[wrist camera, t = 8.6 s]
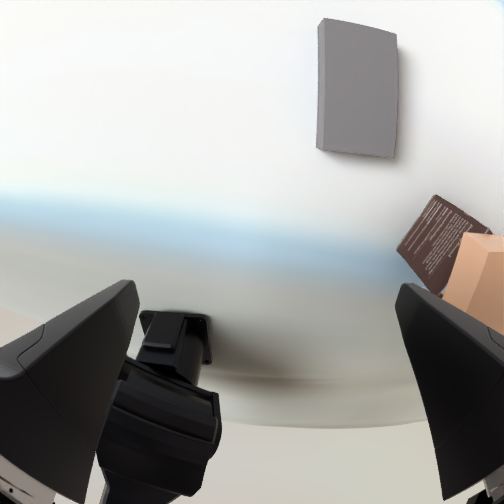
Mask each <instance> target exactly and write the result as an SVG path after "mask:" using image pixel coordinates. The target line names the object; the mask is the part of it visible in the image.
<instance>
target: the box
mask: <svg viewBox="0 0 504 504" xmlns="http://www.w3.org/2000/svg"><path fill="white" fill-rule="evenodd" d="M464 232H468V233H480V234H492V235H493V233H492V232H491V231H490V229H489V228H487V227H485V226H484V225H482V224H481V223H479V222H478V221H477V220H475V219H474V218H473V217H471V216H470V215H468V214H467V213H465V212H464V211H462V210H460V209H459V208H457V207H456V206H454V205H453V204H451V203H449V202H448V201H446V200H444V199H443V198H441V197H440V196H438V195H433V196H432V198H431V200H430V201H429V203H428V204H427V206H426V207H425V209H424V210H423V212H422V213H421V215H420V217H419V218H418V219H417V221H416V222H415V224H414V225H413V226H412V228H411V229H410V230H409V232H408V233H407V234H406V236H405V237H404V238H403V239H402V241H401V242H400V244H399V245H398V247H397V248H396V250H397V252H398V253H399V254H400V255H401V256H402V257H403V258H404V259H405V260H406V262H407V263H408V264H409V265H410V267H411V268H412V269H413V270H414V272H415V273H416V274H417V275H418V277H419V278H420V279H421V280H422V282H423V283H424V284H425V285H426V287H427V288H428V289H429V291H430V292H431V293H432V294H434V295H436V296H437V297H439V298H441V299H442V297H443V295H444V292H445V289H446V287H447V284H448V281H449V278H450V276H451V273H452V270H453V267H454V264H455V261H456V257H457V254H458V251H459V248H460V244H461V241H462V237H463V233H464Z"/></svg>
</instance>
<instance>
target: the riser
mask: <svg viewBox="0 0 504 504" xmlns="http://www.w3.org/2000/svg"><path fill="white" fill-rule="evenodd" d="M397 109H398V54H397V36H396V34H395V33H391V32H388V31H384V30H381V29H377V28H373V27H369V26H364V25H360V24H355V23H351V22H345V21H340V20H334V19H328V18H323V20H322V21H321V23H320V24H319V26H318V113H317V139H316V147H317V148H319V149H321V150H325V151H337V152H347V153H356V154H365V155H373V156H380V157H387V158H394V153H395V142H396V128H397Z"/></svg>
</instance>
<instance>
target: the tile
mask: <svg viewBox="0 0 504 504" xmlns="http://www.w3.org/2000/svg"><path fill="white" fill-rule="evenodd" d="M442 299H443V300H445V301H446V302H448V303H450V304H452V305H453V306H455V307H457V308H459V309H460V310H462V311H464V312H465V313H467V314H469V315H470V316H472V317H474V318H476V319H477V320H479V321H481V322H482V323H484V324H486V326H489V327H491V328H492V329H494V330H495V331H497V332H499V333H500V334H502V335H504V236H503V235H492V234H480V233H468V232H464V233H463V237H462V241H461V244H460V248H459V251H458V254H457V257H456V261H455V264H454V267H453V270H452V273H451V276H450V278H449V281H448V284H447V287H446V289H445V292H444V295H443V297H442Z"/></svg>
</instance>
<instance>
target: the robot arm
mask: <svg viewBox="0 0 504 504" xmlns="http://www.w3.org/2000/svg"><path fill="white" fill-rule="evenodd" d="M139 306H140V302H139V297H138V293H137V289H136V285H135V282H134V281H133V280H121V281H119V282H117V283H115V284H113V285H111V286H110V287H108V288H106V289H104V290H102V291H101V292H99V293H97V294H95V295H93V296H92V297H90V298H88V299H86V300H84V301H83V302H81V303H79V304H77V305H76V306H74V307H72V308H70V309H68V310H67V311H65V312H63V313H62V314H60V315H58V316H56V317H55V318H53V319H51V320H49V321H48V322H46V323H45V324H43V325H41V326H39V327H37V328H36V329H34V330H33V331H31V332H29V333H27V334H25V335H23V336H22V337H20V338H18V339H16V340H14V341H12V342H10V343H9V344H6V345H4V346H3V347H1V348H0V504H55V502H53V501H54V497H55V494H56V493H58V494H60V495H62V496H64V497H66V498H68V499H70V500H72V501H74V502H76V503H79V504H84V502H85V498H86V492H87V488H88V483H89V478H90V474H91V470H92V465H93V461H94V457H95V453H96V454H97V459H98V463H99V466H100V467H101V469H102V472H103V475H104V478H105V481H106V483H105V486H104V490H103V493H102V496H101V500H100V503H99V504H169V503H170V502H172V501H173V500H175V499H176V498H178V497H179V496H180V495H184V496H188V497H191V496H193V495H194V494H195V493H196V492H197V491H198V490H199V489H200V488H201V485H202V481H203V476H204V472H205V469H206V465H207V462H208V460H209V459H210V458H212V456H213V455H214V454H215V452H216V450H217V448H218V446H219V442H220V439H221V434H222V423H221V414H220V404H219V394H218V393H215V392H210V391H207V390H204V389H201V388H199V387H197V385H198V380H199V375H200V370H201V365H202V364H205V365H209V364H211V363H212V354H211V346H210V339H209V331H208V323H207V318H206V316H204V315H200V314H182V313H167V312H154V311H141V313H140V315H139V318H140V322H141V325H142V328H143V332H144V335H145V337H144V339H143V342H142V345H141V348H140V350H139V352H138V355H137V357H136V360H134V359H132V358H130V357H128V356H127V354H126V353H127V350H128V347H129V344H130V341H131V337H132V333H133V329H134V325H135V321H136V318H137V314H138V310H139ZM395 310H396V314H397V317H398V321H399V325H400V329H401V333H402V337H403V340H404V344H405V347H406V350H407V353H408V356H409V359H410V362H411V365H412V368H413V371H414V374H415V377H416V380H417V384H418V387H419V390H420V394H421V397H422V400H423V404H424V408H425V411H426V415H427V419H428V423H429V427H430V431H431V435H432V440H433V444H434V448H435V454H436V459H437V465H438V470H439V475H440V482H441V488H442V497H443V500H444V501H445V500H447V499H449V498H451V497H453V496H455V495H457V494H459V493H461V492H463V491H465V490H467V489H468V488H470V487H472V486H474V485H475V484H477V483H479V482H481V481H482V480H483V482H484V485H485V489H484V490H482V491H481V492H479V493H477V494H476V495H474V496H472V497H471V498H469V499H468V501H467V503H466V504H504V335H502V334H500V333H499V332H497V331H495V330H494V329H492V328H491V327H489V326H486V324H484V323H482V322H481V321H479V320H477V319H476V318H474V317H472V316H470V315H469V314H467V313H465V312H464V311H462V310H460V309H459V308H457V307H455V306H453V305H452V304H450V303H448V302H446V301H445V300H443V299H441V298H439V297H437V296H436V295H434V294H432V293H430V292H429V291H427V290H425V289H423V288H421V287H419V286H418V285H416V284H414V283H404V284H402V285H401V288H400V291H399V294H398V297H397V300H396V303H395ZM143 315H144V316H146V317H144V316H143ZM200 319H201V320H203V321H200ZM95 451H96V452H95Z"/></svg>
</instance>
